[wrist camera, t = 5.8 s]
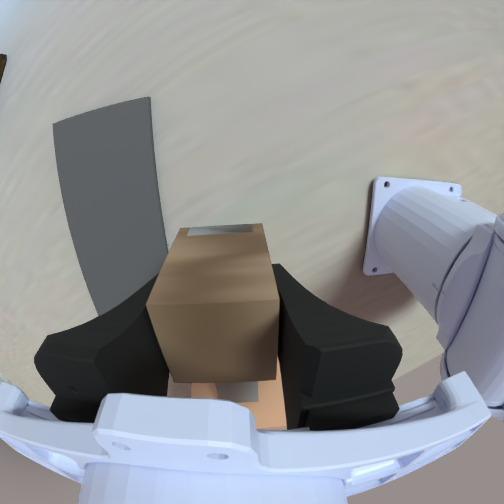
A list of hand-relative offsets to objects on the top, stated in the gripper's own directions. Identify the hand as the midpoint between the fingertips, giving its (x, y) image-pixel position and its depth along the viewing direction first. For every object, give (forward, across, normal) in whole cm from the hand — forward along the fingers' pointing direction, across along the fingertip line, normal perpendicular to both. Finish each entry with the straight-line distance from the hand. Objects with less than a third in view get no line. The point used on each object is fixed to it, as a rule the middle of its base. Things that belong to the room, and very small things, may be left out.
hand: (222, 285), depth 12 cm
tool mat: (+7, +8, 0) cm, 11 cm away
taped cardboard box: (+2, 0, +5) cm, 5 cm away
